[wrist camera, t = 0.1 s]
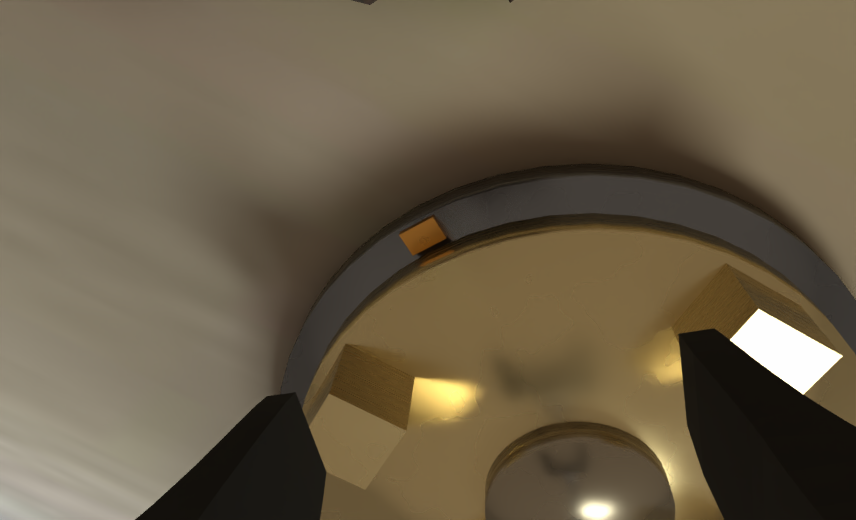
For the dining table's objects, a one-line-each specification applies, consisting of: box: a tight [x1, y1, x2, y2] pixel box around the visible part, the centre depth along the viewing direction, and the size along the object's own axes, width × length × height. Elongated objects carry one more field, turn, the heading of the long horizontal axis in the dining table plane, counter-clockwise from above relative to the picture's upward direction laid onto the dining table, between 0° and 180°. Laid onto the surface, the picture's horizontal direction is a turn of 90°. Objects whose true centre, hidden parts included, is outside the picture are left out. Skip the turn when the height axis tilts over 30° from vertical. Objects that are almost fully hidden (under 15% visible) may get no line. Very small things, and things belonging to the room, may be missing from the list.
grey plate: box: [281, 164, 856, 408], centre depth 25 cm, size 21×21×1 cm
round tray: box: [302, 213, 856, 520], centre depth 22 cm, size 19×19×4 cm
